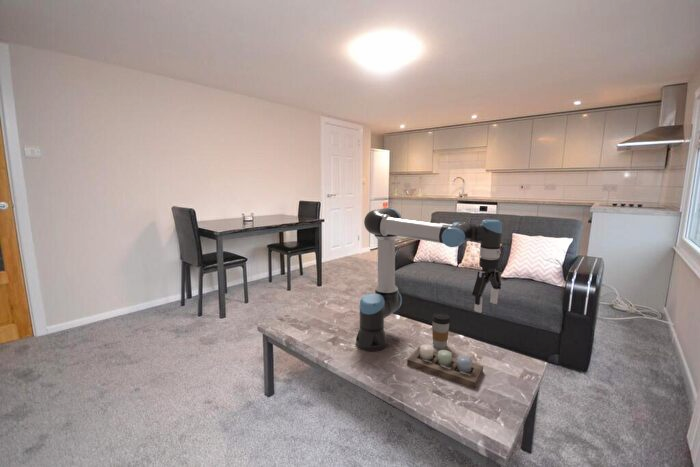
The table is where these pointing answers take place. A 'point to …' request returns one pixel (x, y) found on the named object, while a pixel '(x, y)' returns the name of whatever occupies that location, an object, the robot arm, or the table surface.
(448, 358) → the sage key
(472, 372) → the wooden tray
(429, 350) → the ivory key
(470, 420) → the table surface
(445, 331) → the coffee cup
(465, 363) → the pale blue rounded knob
